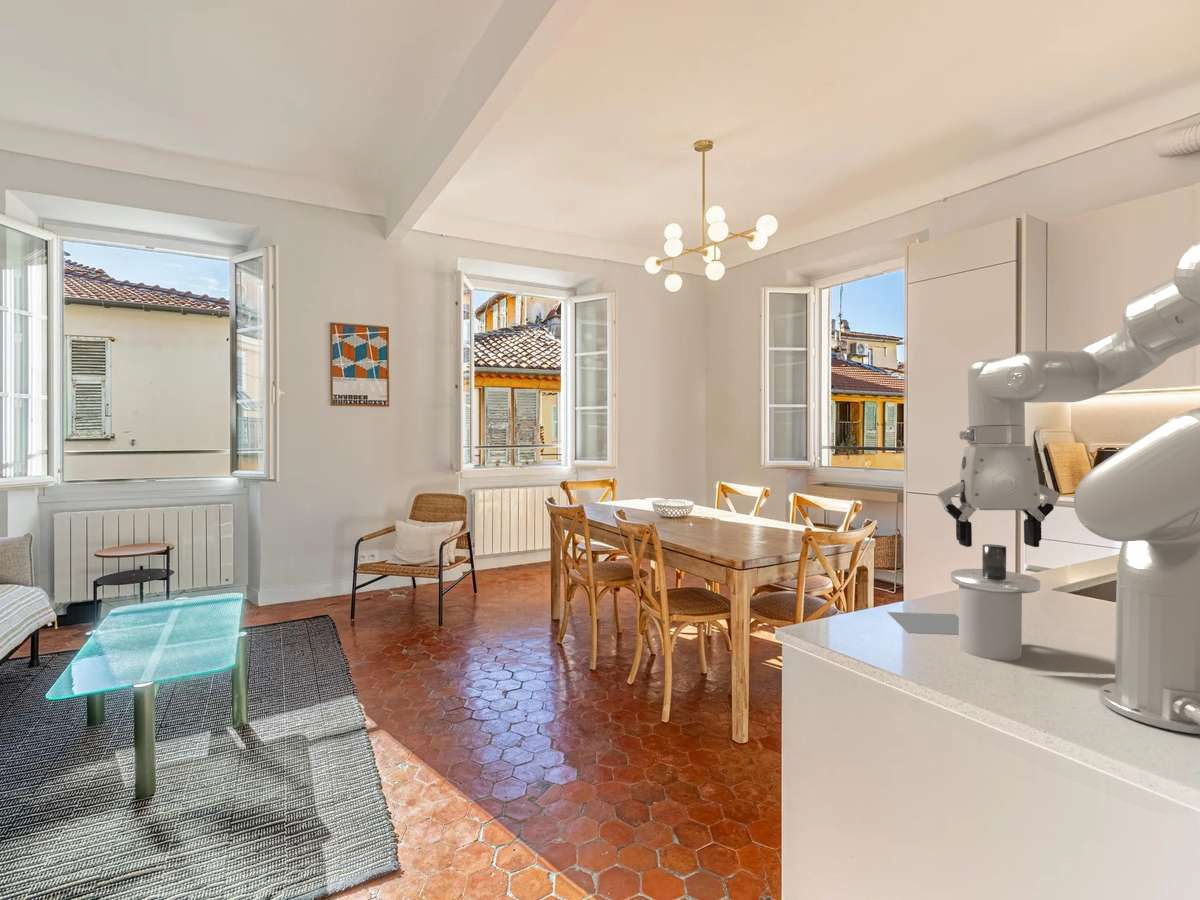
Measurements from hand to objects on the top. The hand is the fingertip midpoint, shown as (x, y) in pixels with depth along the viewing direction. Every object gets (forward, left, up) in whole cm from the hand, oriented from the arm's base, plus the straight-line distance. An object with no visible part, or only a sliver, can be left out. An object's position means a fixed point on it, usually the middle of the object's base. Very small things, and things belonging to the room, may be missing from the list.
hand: (998, 545), depth 98 cm
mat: (+13, +5, -17) cm, 22 cm away
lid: (+1, 0, -6) cm, 6 cm away
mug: (+1, 0, -17) cm, 17 cm away
